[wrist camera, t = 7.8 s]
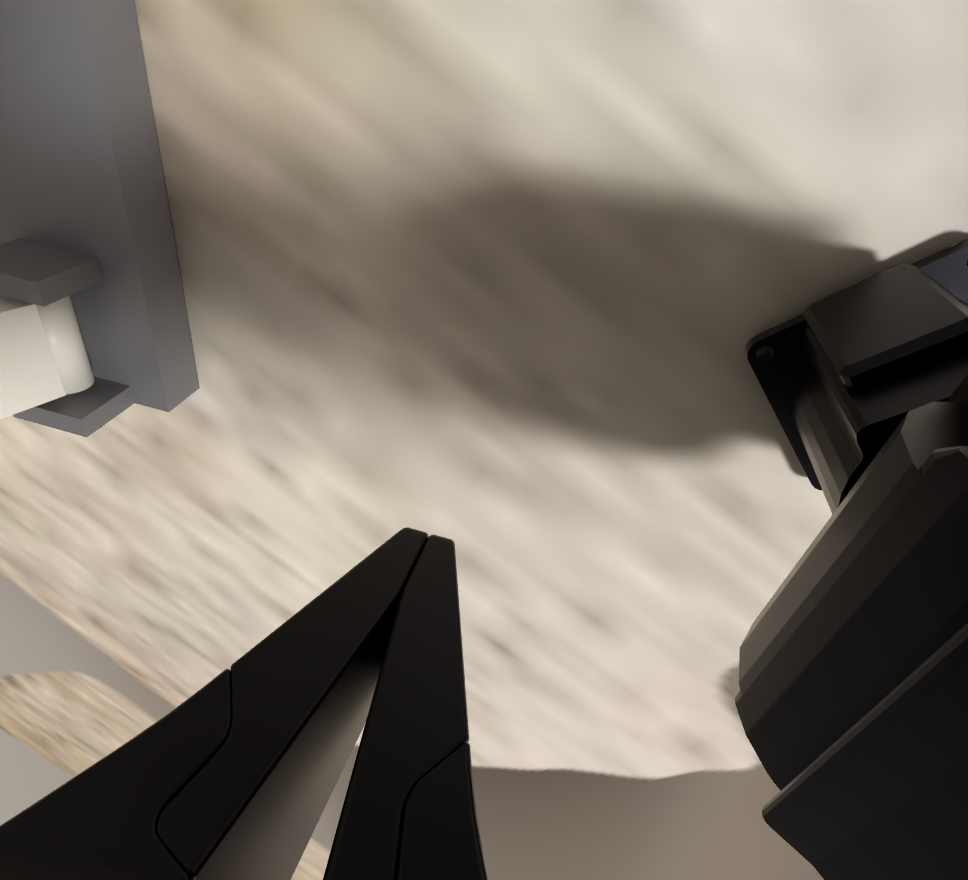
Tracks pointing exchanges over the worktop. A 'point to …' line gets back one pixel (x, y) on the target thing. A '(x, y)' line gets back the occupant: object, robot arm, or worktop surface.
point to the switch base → (90, 204)
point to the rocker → (40, 354)
